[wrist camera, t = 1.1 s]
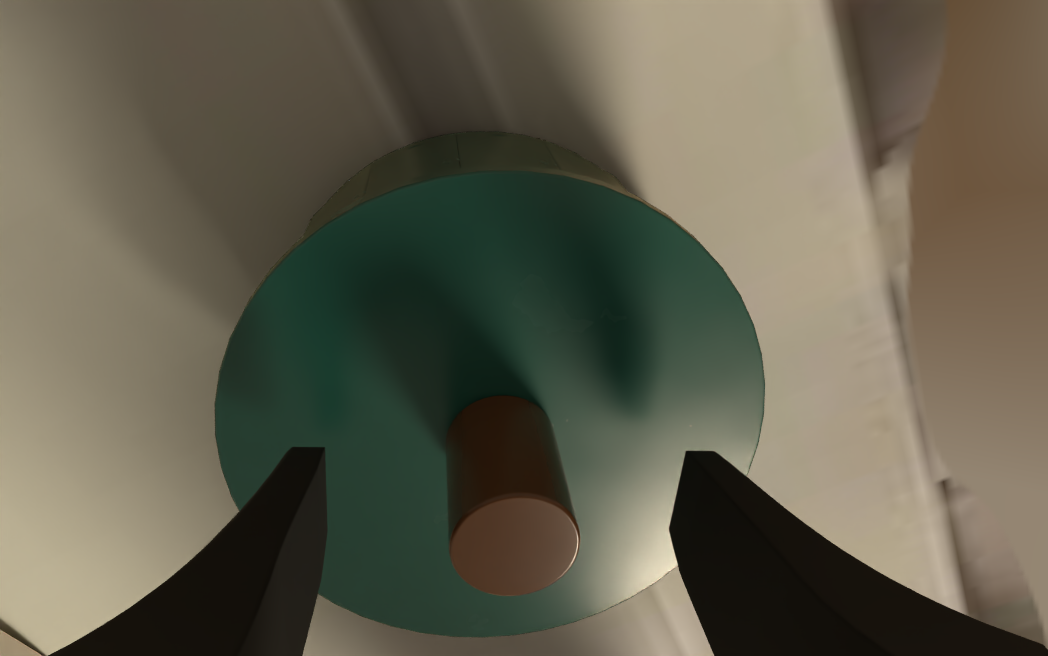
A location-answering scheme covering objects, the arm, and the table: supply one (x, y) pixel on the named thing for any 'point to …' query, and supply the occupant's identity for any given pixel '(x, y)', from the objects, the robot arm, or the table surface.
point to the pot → (458, 163)
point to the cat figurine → (14, 647)
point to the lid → (492, 394)
